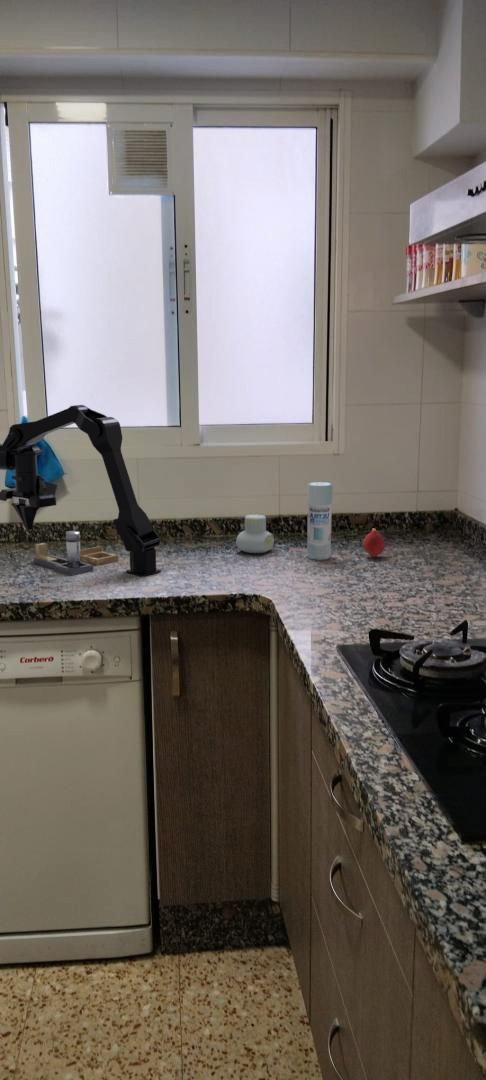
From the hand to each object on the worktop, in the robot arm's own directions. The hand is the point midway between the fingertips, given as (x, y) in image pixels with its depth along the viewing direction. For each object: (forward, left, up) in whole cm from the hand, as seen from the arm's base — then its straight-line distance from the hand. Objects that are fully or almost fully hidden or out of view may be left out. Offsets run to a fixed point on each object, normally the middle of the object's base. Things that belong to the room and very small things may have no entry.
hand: (29, 529), depth 234 cm
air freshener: (-38, -48, -8) cm, 62 cm away
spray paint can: (-55, -55, -8) cm, 78 cm away
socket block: (-14, 0, -8) cm, 16 cm away
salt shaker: (-20, 0, -8) cm, 21 cm away
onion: (-66, -65, -8) cm, 93 cm away
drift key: (-8, 0, -8) cm, 11 cm away
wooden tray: (-16, -11, -8) cm, 21 cm away
